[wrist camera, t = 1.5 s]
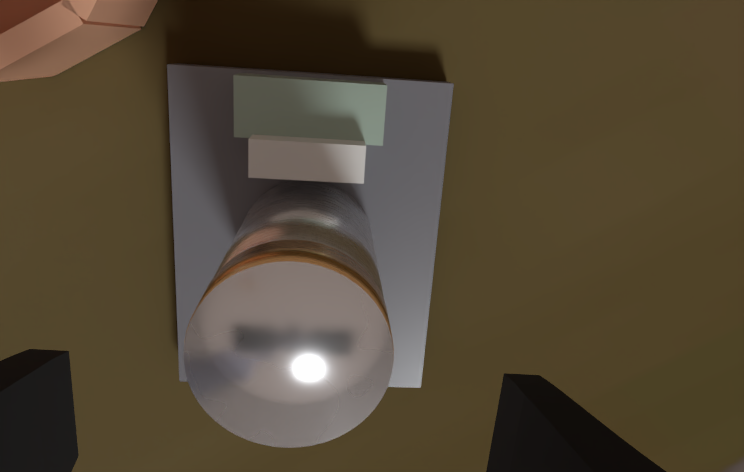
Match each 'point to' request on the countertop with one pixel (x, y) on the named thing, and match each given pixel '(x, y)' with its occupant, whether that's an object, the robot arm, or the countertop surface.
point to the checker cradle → (310, 174)
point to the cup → (62, 32)
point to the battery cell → (293, 322)
